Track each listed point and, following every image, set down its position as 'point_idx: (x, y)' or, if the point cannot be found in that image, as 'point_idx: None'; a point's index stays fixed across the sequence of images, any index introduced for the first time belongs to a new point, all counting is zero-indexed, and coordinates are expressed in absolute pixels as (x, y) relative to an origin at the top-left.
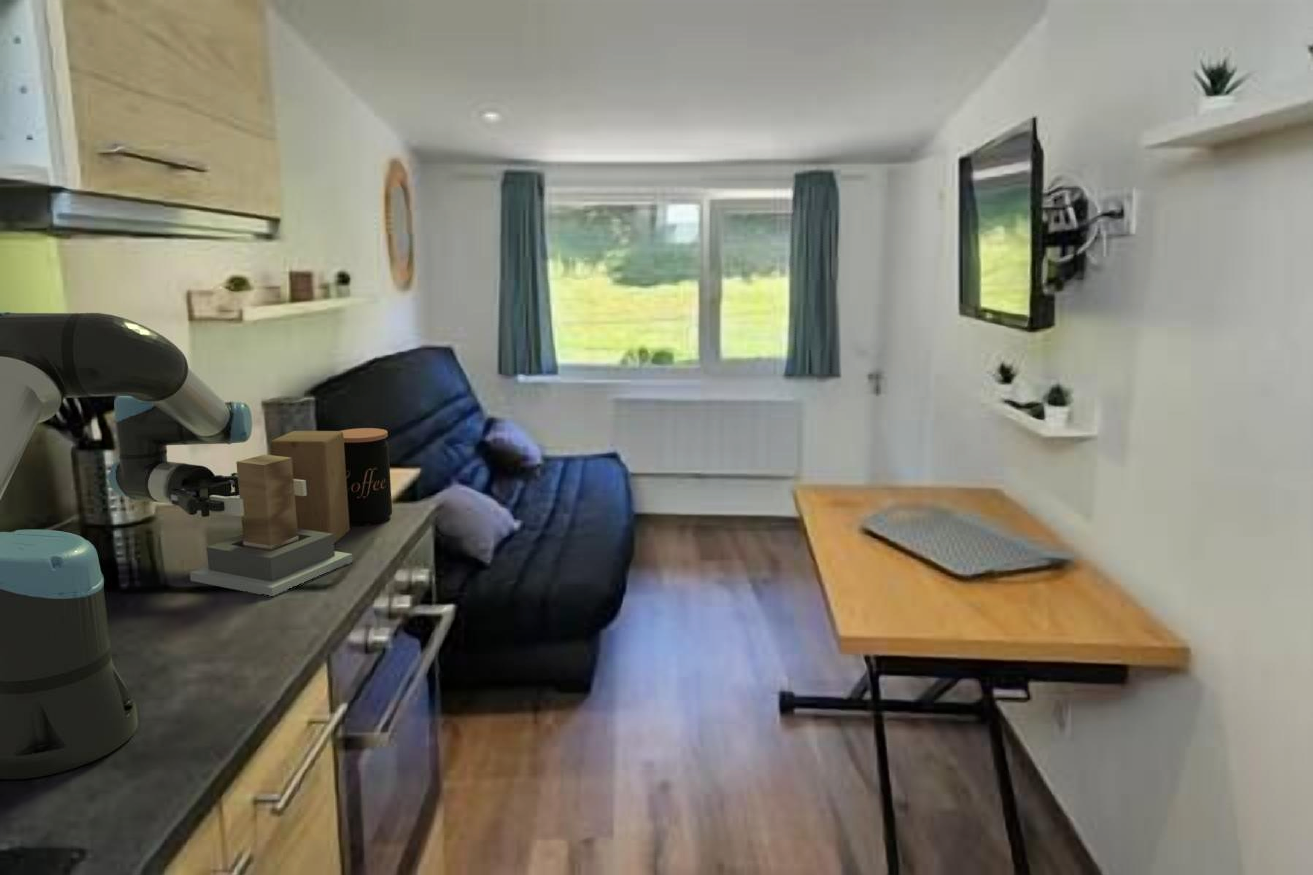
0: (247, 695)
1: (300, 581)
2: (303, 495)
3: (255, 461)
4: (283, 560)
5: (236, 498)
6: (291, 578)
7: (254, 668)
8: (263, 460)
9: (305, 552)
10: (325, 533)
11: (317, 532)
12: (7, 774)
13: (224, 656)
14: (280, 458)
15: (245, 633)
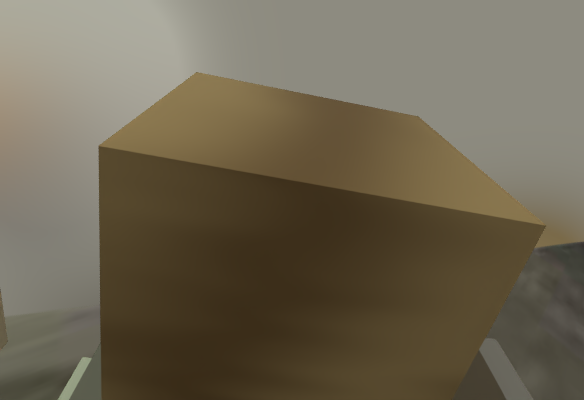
0: (548, 267)
1: None
2: (5, 339)
3: (399, 144)
4: None
5: (494, 373)
6: None
7: (525, 286)
8: (340, 126)
9: None
10: (100, 359)
11: (85, 392)
12: None
13: (552, 330)
14: (239, 91)
15: (502, 349)
